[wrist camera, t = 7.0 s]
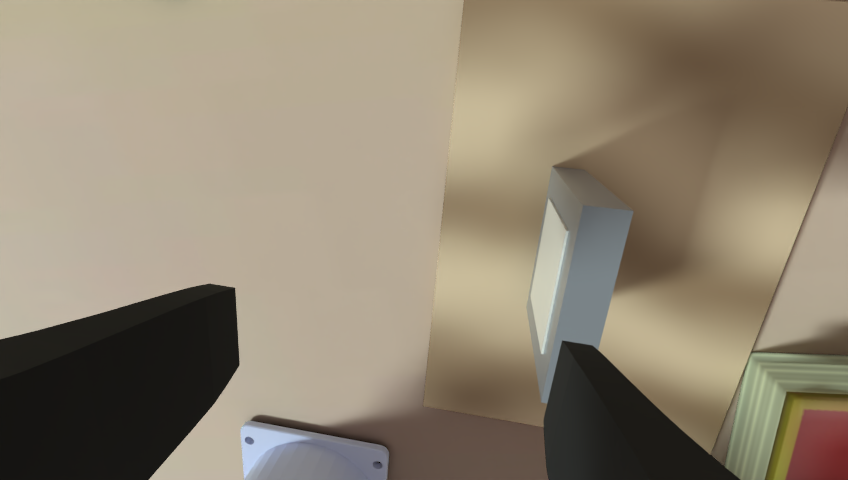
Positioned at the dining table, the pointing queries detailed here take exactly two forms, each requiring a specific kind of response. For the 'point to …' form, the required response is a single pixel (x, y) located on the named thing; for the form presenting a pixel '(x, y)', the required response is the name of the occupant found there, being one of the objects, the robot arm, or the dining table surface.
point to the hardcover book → (791, 418)
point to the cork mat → (632, 185)
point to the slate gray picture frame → (574, 267)
